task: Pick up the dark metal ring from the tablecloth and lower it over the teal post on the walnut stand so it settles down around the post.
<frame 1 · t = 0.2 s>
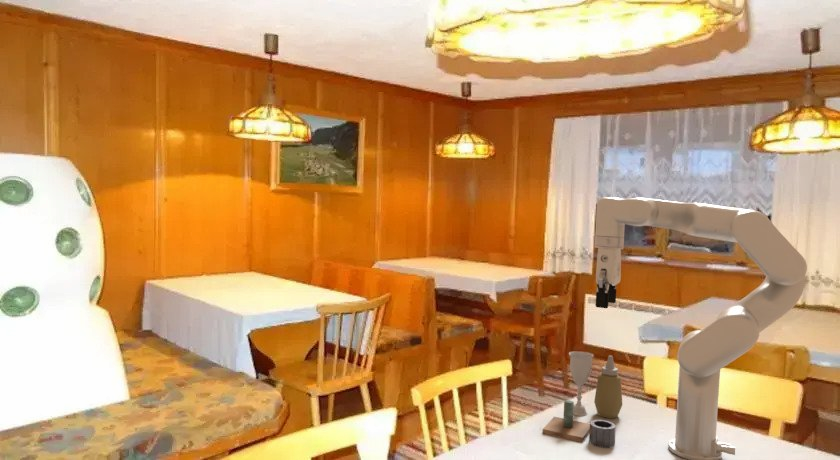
hand: (605, 304, 165), 36 cm above the table, tool pointing down, fingers open, 9 cm apart
chalice: (578, 413, 183), on the table
ring: (601, 442, 161), on the table
post stand: (567, 430, 168), on the table
squeeze bottle: (607, 415, 181), on the table
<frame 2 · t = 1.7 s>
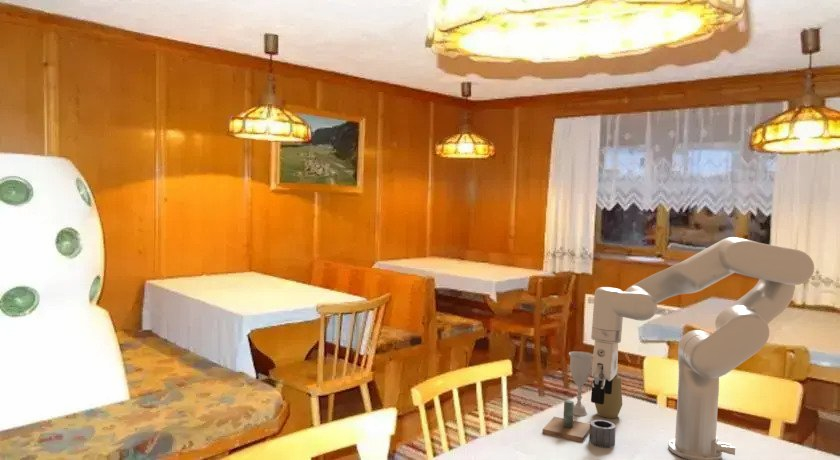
hand: (601, 397, 160), 12 cm above the table, tool pointing down, fingers open, 9 cm apart
nothing on the table moved.
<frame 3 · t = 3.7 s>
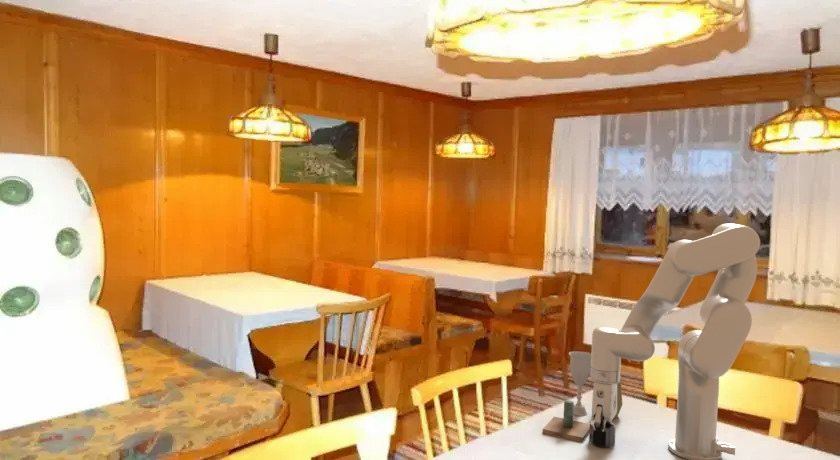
hand: (602, 440, 161), 1 cm above the table, tool pointing down, fingers closed on ring, 6 cm apart
ring: (601, 442, 161), on the table, touching gripper
everything else where it was.
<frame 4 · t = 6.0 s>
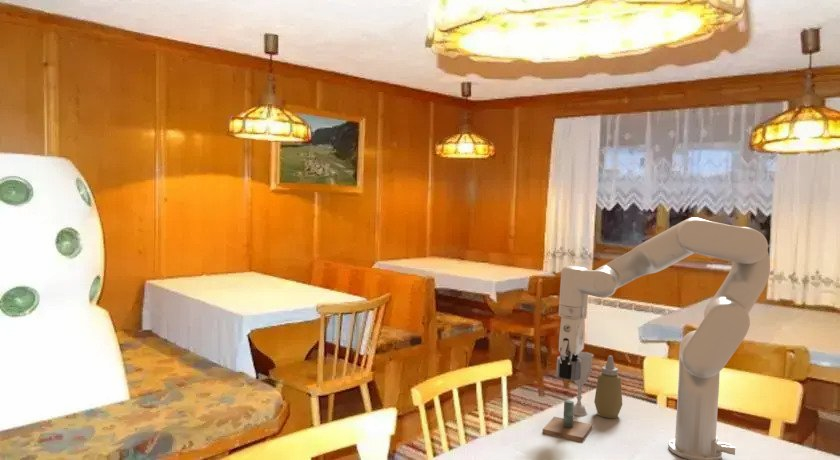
hand: (568, 374, 167), 16 cm above the table, tool pointing down, fingers closed on ring, 6 cm apart
ring: (568, 376, 167), point 15 cm above the table, touching gripper
everything else where it was.
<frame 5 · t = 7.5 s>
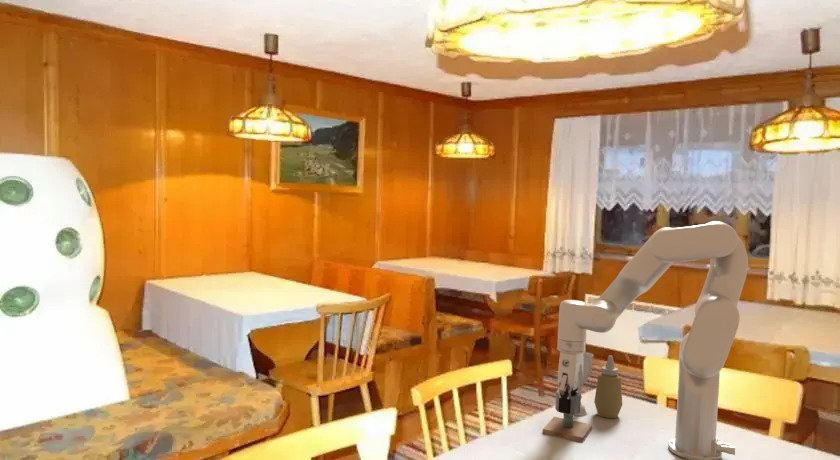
hand: (567, 408, 168), 6 cm above the table, tool pointing down, fingers closed on ring, 6 cm apart
ring: (567, 410, 168), point 6 cm above the table, touching gripper
everything else where it was.
when the fingers open (5 cm above the table, at t = 8.8 s): ring drops 3 cm, resting on post stand.
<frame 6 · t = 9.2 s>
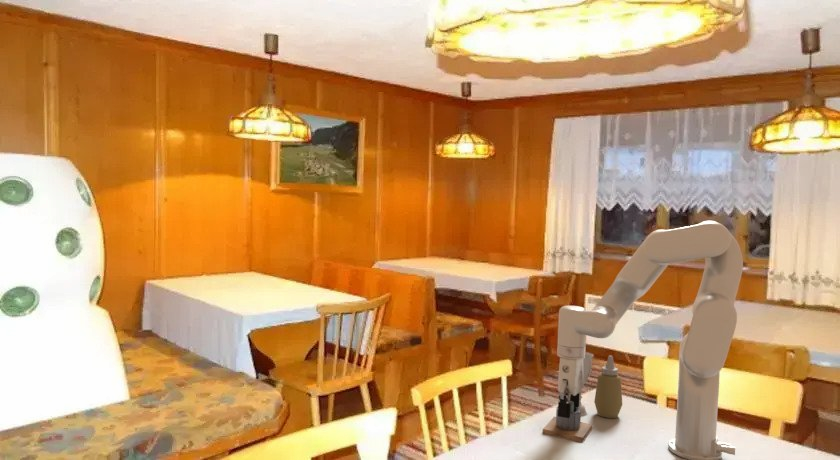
hand: (568, 411, 168), 5 cm above the table, tool pointing down, fingers open, 9 cm apart
ring: (567, 426, 168), point 1 cm above the table, touching post stand
everything else where it was.
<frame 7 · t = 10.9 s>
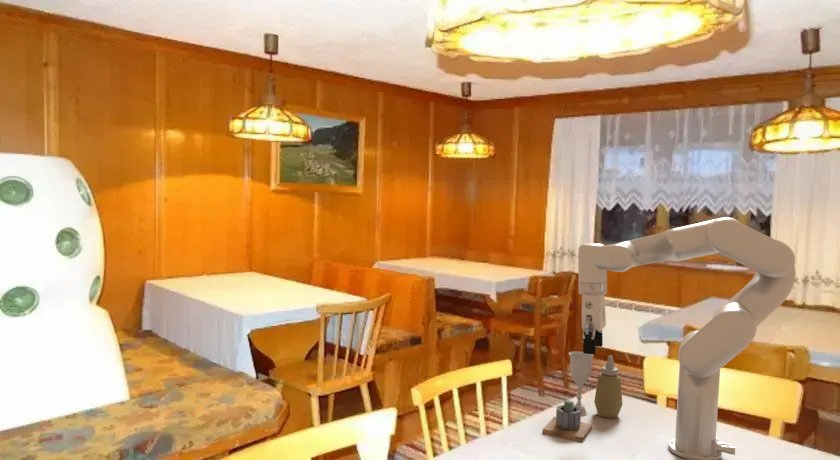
hand: (593, 349, 167), 23 cm above the table, tool pointing down, fingers open, 9 cm apart
nothing on the table moved.
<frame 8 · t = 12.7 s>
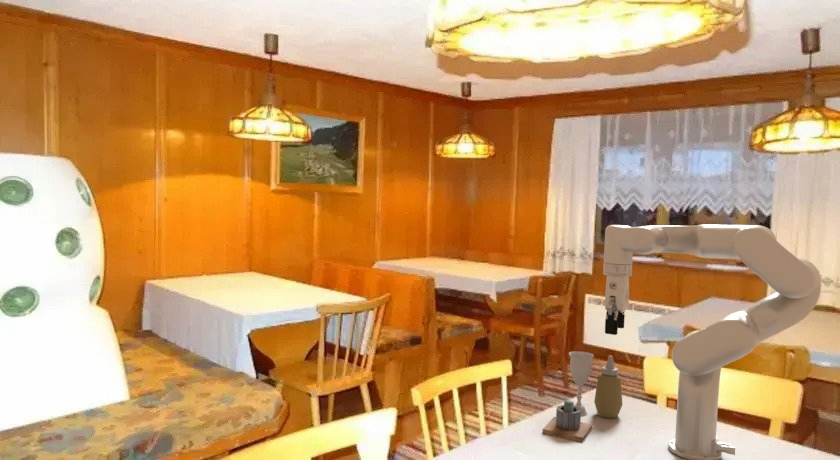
hand: (614, 330, 168), 28 cm above the table, tool pointing down, fingers open, 9 cm apart
nothing on the table moved.
at the end: ring 0.0 cm off-centre on the post stand, point 1.2 cm above the post stand's base; the gripper is holding nothing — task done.
